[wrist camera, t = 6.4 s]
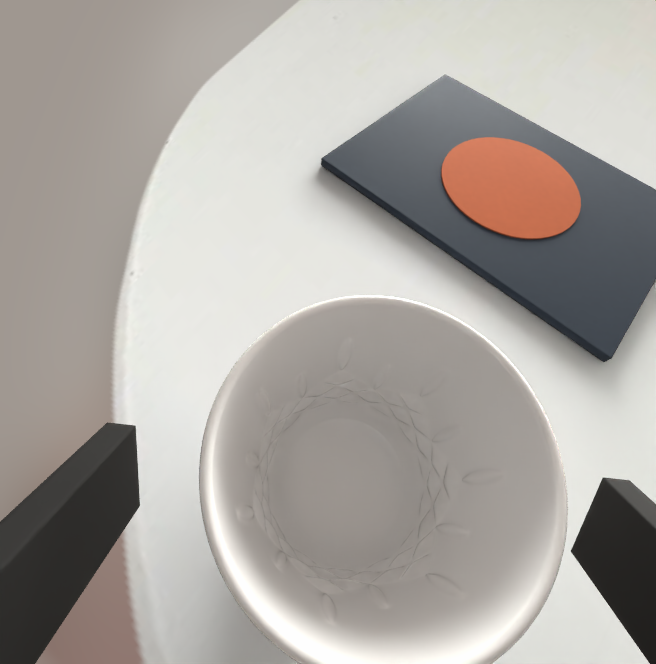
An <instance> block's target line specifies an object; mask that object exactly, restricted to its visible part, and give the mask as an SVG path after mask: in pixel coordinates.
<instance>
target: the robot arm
mask: <svg viewBox="0 0 656 664" xmlns="http://www.w3.org/2000/svg"><path fill="white" fill-rule="evenodd" d="M139 506H140V500H139V482H138V463H137V445H136V426H133V425H124V424H115V423H106V424H105V425H104V426H103V427H102V428H101V429H100V430H99V431H98V432H97V433H96V434H94V435H93V436H92V437H91V438H90V439H89V440H88V441H87V442H86V443H85V444H84V445H83V446H81V447H80V448H79V449H78V450H77V451H76V452H75V453H74V454H73V455H72V456H71V457H70V458H69V459H68V460H66V461H65V462H64V463H63V464H62V465H61V466H60V467H59V468H58V469H57V470H56V471H55V472H53V473H52V474H51V475H50V476H49V477H48V478H47V479H46V480H45V481H44V482H43V483H42V484H40V486H38V487H37V488H36V489H35V490H34V491H33V492H32V493H31V494H30V495H29V496H28V497H26V498H25V499H24V500H23V501H22V502H21V503H20V504H19V505H18V506H17V507H16V508H15V509H13V510H12V511H11V512H10V513H9V514H8V515H7V516H6V517H5V518H4V519H3V520H2V521H1V522H0V664H35V663H36V662H37V660H38V658H39V657H40V656H41V654H42V653H43V651H44V650H45V648H46V647H47V645H48V644H49V642H50V641H51V639H52V637H53V636H54V634H55V633H56V631H57V630H58V628H59V627H60V625H61V624H62V622H63V621H64V619H65V618H66V616H67V615H68V613H69V612H70V610H71V609H72V607H73V606H74V604H75V603H76V601H77V600H78V598H79V597H80V595H81V594H82V592H83V591H84V589H85V588H86V586H87V585H88V583H89V582H90V580H91V579H92V577H93V576H94V574H95V573H96V571H97V569H98V568H99V567H100V565H101V563H102V562H103V560H104V559H105V557H106V556H107V554H108V553H109V551H110V550H111V548H112V547H113V545H114V544H115V542H116V541H117V539H118V538H119V536H120V535H121V533H122V532H123V530H124V529H125V527H126V526H127V524H128V523H129V521H130V520H131V518H132V517H133V515H134V514H135V512H136V511H137V509H138V508H139ZM571 552H572V553H573V555H574V556H575V558H576V559H577V561H578V562H579V563H580V565H581V566H582V568H583V569H584V571H585V572H586V573H587V575H588V576H589V578H590V579H591V580H592V582H593V583H594V585H595V586H596V588H597V589H598V590H599V592H600V593H601V595H602V596H603V598H604V599H605V600H606V602H607V603H608V605H609V606H610V608H611V609H612V610H613V612H614V613H615V615H616V616H617V617H618V619H619V620H620V622H621V623H622V625H623V626H624V627H625V629H626V630H627V632H628V633H629V635H630V636H631V637H632V639H633V640H634V642H635V643H636V645H637V646H638V647H639V649H640V650H641V652H642V653H643V654H644V656H645V657H646V659H647V660H648V662H649V663H650V664H656V504H655V503H654V502H653V501H652V500H650V499H649V498H648V497H647V496H646V495H645V494H644V493H643V492H642V491H641V490H639V489H638V488H637V487H636V486H635V485H634V484H633V483H632V482H631V481H629V480H621V479H611V478H603V479H602V481H601V483H600V486H599V488H598V490H597V493H596V495H595V497H594V499H593V502H592V504H591V506H590V509H589V511H588V513H587V515H586V518H585V520H584V522H583V525H582V527H581V529H580V532H579V534H578V536H577V538H576V541H575V543H574V545H573V548H572V550H571Z"/></svg>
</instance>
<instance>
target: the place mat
mask: <svg viewBox="0 0 656 664" xmlns="http://www.w3.org/2000/svg"><path fill="white" fill-rule="evenodd" d="M321 165H322V166H323V167H325V168H326V169H328V170H329V171H330V172H332V173H333V174H335V175H336V176H338V177H339V178H341V179H342V180H343V181H345V182H346V183H348V184H349V185H351V186H352V187H353V188H355V189H356V190H358V191H359V192H361V193H362V194H363V195H365V196H366V197H368V198H369V199H371V200H372V201H373V202H375V203H376V204H378V205H379V206H381V207H382V208H384V209H385V210H386V211H388V212H389V213H391V214H392V215H394V216H395V217H396V218H398V219H399V220H401V221H402V222H404V223H405V224H406V225H408V226H409V227H411V228H412V229H414V230H415V231H417V232H418V233H419V234H421V235H422V236H424V237H425V238H427V239H428V240H429V241H431V242H432V243H434V244H435V245H437V246H438V247H439V248H441V249H442V250H444V251H445V252H447V253H448V254H450V255H451V256H452V257H454V258H455V259H457V260H458V261H460V262H461V263H462V264H464V265H465V266H467V267H468V268H470V269H471V270H472V271H474V272H475V273H477V274H478V275H480V276H481V277H482V278H484V279H485V280H487V281H488V282H490V283H491V284H493V285H494V286H495V287H497V288H498V289H500V290H501V291H503V292H504V293H505V294H507V295H508V296H510V297H511V298H513V299H514V300H515V301H517V302H518V303H520V304H521V305H523V306H524V307H526V308H527V309H528V310H530V311H531V312H533V313H534V314H536V315H537V316H538V317H540V318H541V319H543V320H544V321H546V322H547V323H548V324H550V325H551V326H553V327H554V328H556V329H557V330H558V331H560V332H561V333H563V334H564V335H566V336H567V337H569V338H570V339H571V340H573V341H574V342H576V343H577V344H579V345H580V346H581V347H583V348H584V349H586V350H587V351H589V352H590V353H591V354H593V355H594V356H596V357H597V358H599V359H600V360H602V361H603V362H605V361H607V360H609V359H611V358H612V356H613V355H614V353H615V351H616V349H617V348H618V346H619V344H620V342H621V340H622V339H623V337H624V335H625V333H626V332H627V330H628V328H629V326H630V324H631V323H632V321H633V319H634V317H635V316H636V314H637V312H638V310H639V308H640V307H641V305H642V303H643V301H644V300H645V298H646V296H647V294H648V292H649V291H650V289H651V287H652V285H653V284H654V282H655V280H656V190H655V189H654V188H652V187H650V186H648V185H646V184H644V183H643V182H641V181H639V180H637V179H635V178H633V177H632V176H630V175H628V174H626V173H624V172H623V171H621V170H619V169H617V168H615V167H613V166H612V165H610V164H608V163H606V162H604V161H602V160H601V159H599V158H597V157H595V156H593V155H592V154H590V153H588V152H586V151H584V150H582V149H581V148H579V147H577V146H575V145H573V144H571V143H570V142H568V141H566V140H564V139H562V138H561V137H559V136H557V135H555V134H553V133H551V132H550V131H548V130H546V129H544V128H542V127H540V126H539V125H537V124H535V123H533V122H531V121H530V120H528V119H526V118H524V117H522V116H520V115H519V114H517V113H515V112H513V111H511V110H509V109H508V108H506V107H504V106H502V105H500V104H499V103H497V102H495V101H493V100H491V99H489V98H488V97H486V96H484V95H482V94H480V93H478V92H477V91H475V90H473V89H471V88H469V87H468V86H466V85H464V84H462V83H460V82H458V81H457V80H455V79H453V78H451V77H449V76H447V75H443V76H442V77H441V78H439V79H438V80H436V81H435V82H433V83H432V84H430V85H429V86H427V87H426V88H424V89H423V90H421V91H420V92H418V93H417V94H416V95H414V96H413V97H411V98H410V99H408V100H407V101H405V102H404V103H402V104H401V105H399V106H398V107H396V108H395V109H393V110H392V111H391V112H389V113H388V114H386V115H385V116H383V117H382V118H380V119H379V120H377V121H376V122H374V123H373V124H371V125H370V126H368V127H367V128H366V129H364V130H363V131H361V132H360V133H358V134H357V135H355V136H354V137H352V138H351V139H349V140H348V141H346V142H345V143H343V144H342V145H341V146H339V147H338V148H336V149H335V150H333V151H332V152H330V153H329V154H327V155H326V156H324V157H323V158H322V161H321Z"/></svg>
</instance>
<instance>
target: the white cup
mask: <svg viewBox="0 0 656 664" xmlns="http://www.w3.org/2000/svg"><path fill="white" fill-rule="evenodd" d="M199 490H200V502H201V510H202V516H203V521H204V526H205V530H206V534H207V538H208V542H209V545H210V548H211V551H212V554H213V556H214V559H215V562H216V564H217V566H218V569H219V571H220V573H221V575H222V577H223V579H224V581H225V583H226V585H227V587H228V588H229V590H230V592H231V593H232V595H233V597H234V598H235V600H236V601H237V603H238V604H239V606H240V607H241V609H242V610H243V611H244V613H245V614H246V615H247V616H248V618H249V619H250V620H251V621H252V623H253V624H254V625H255V626H256V627H257V628H258V629H259V630H260V631H261V632H262V633H263V634H264V635H265V636H266V637H267V638H268V639H269V640H270V641H271V642H272V643H273V644H274V645H275V646H277V647H278V648H279V649H280V650H281V651H283V652H284V653H285V654H287V655H288V656H289V657H291V658H292V659H294V660H295V661H297V662H298V663H300V664H492V663H493V662H495V661H496V660H497V659H498V658H500V657H501V656H502V655H503V654H505V653H506V652H507V651H508V650H509V649H510V648H511V647H512V646H513V645H514V644H515V643H516V642H517V641H518V640H519V639H520V638H521V637H522V636H523V635H524V633H525V632H526V631H527V630H528V628H529V627H530V626H531V624H532V623H533V622H534V620H535V619H536V617H537V616H538V614H539V612H540V611H541V609H542V607H543V606H544V604H545V602H546V600H547V598H548V596H549V594H550V592H551V589H552V587H553V585H554V582H555V579H556V576H557V574H558V570H559V567H560V563H561V560H562V555H563V551H564V546H565V539H566V531H567V515H568V504H567V488H566V480H565V473H564V468H563V463H562V459H561V455H560V451H559V447H558V444H557V441H556V438H555V435H554V432H553V430H552V427H551V425H550V422H549V420H548V418H547V416H546V414H545V412H544V410H543V408H542V406H541V404H540V402H539V400H538V399H537V397H536V395H535V394H534V392H533V390H532V389H531V387H530V386H529V384H528V383H527V381H526V380H525V379H524V377H523V376H522V375H521V373H520V372H519V371H518V370H517V368H516V367H515V366H514V365H513V364H512V362H511V361H510V360H509V359H508V358H507V357H506V356H505V355H504V354H503V353H502V352H501V351H500V350H499V349H498V348H497V347H496V346H495V345H493V344H492V343H491V342H490V341H489V340H488V339H486V338H485V337H484V336H483V335H481V334H480V333H479V332H477V331H476V330H474V329H473V328H472V327H470V326H469V325H467V324H465V323H464V322H462V321H460V320H459V319H457V318H455V317H453V316H451V315H449V314H447V313H445V312H443V311H441V310H438V309H436V308H433V307H431V306H428V305H425V304H422V303H419V302H415V301H411V300H407V299H402V298H397V297H390V296H378V295H360V296H349V297H342V298H336V299H331V300H327V301H324V302H320V303H317V304H314V305H311V306H309V307H306V308H304V309H302V310H299V311H297V312H295V313H293V314H291V315H290V316H288V317H286V318H284V319H283V320H281V321H280V322H278V323H277V324H275V325H274V326H272V327H271V328H270V329H268V330H267V331H266V332H265V333H263V334H262V335H261V336H260V337H259V338H258V339H257V340H256V341H255V342H254V343H253V344H252V345H251V346H250V347H249V348H248V349H247V350H246V351H245V352H244V353H243V355H242V356H241V357H240V358H239V359H238V361H237V362H236V363H235V365H234V366H233V368H232V369H231V371H230V372H229V374H228V375H227V377H226V379H225V380H224V382H223V384H222V386H221V388H220V390H219V392H218V394H217V396H216V398H215V401H214V403H213V406H212V408H211V411H210V414H209V417H208V420H207V424H206V428H205V432H204V436H203V441H202V447H201V455H200V467H199Z"/></svg>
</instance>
